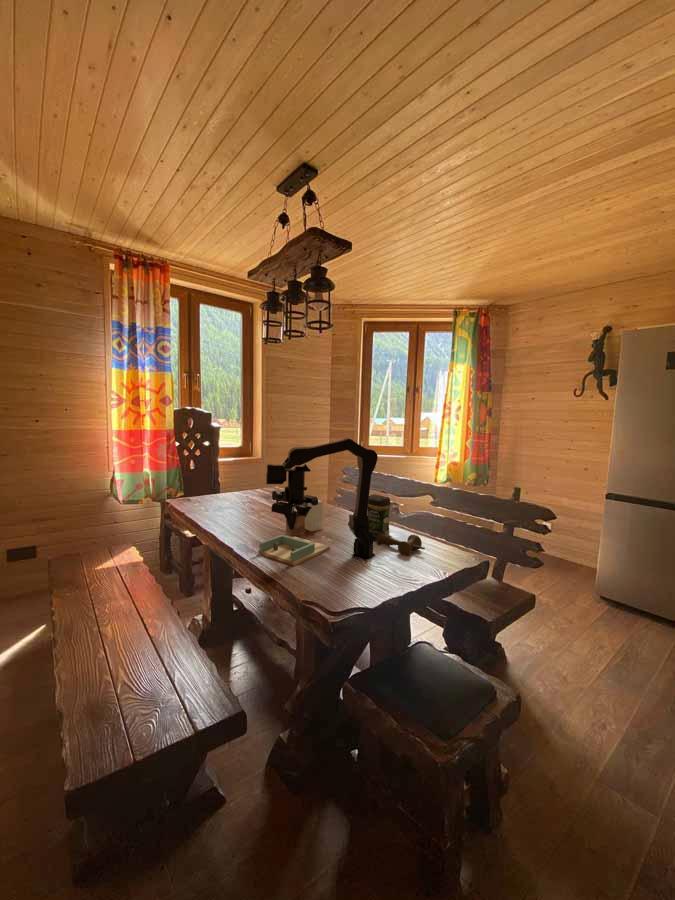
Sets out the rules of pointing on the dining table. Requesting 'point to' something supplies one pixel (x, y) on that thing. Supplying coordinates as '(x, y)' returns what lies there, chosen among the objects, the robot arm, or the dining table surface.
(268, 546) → the housing
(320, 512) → the small box
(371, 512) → the coffee jar
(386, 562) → the dining table surface
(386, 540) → the kendama
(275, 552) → the board
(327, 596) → the dining table surface
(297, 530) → the block
